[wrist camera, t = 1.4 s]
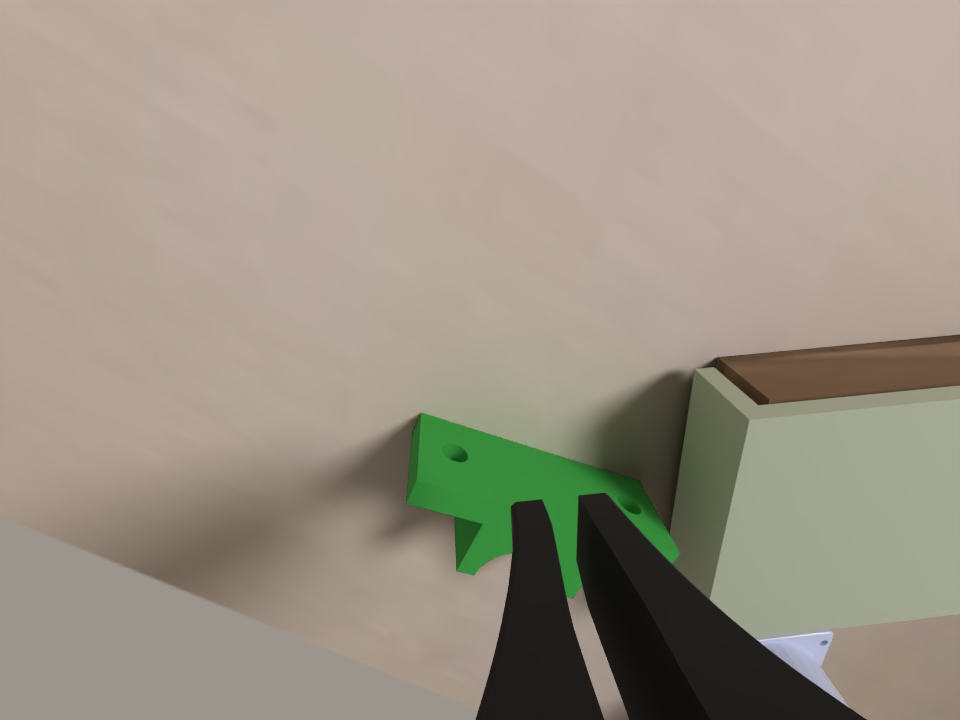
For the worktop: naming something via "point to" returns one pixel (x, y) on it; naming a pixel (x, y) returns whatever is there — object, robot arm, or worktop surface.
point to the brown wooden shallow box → (845, 370)
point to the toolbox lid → (820, 507)
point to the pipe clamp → (514, 493)
